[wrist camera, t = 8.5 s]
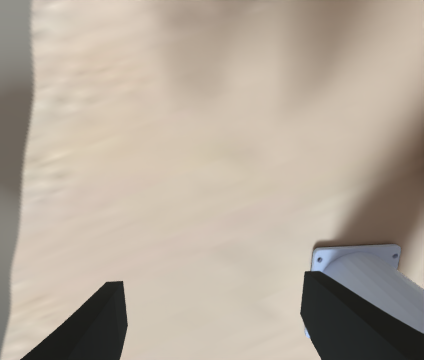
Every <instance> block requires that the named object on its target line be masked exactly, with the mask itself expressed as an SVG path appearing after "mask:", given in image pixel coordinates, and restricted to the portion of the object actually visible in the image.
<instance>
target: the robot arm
mask: <svg viewBox="0 0 424 360" xmlns="http://www.w3.org/2000/svg"><path fill="white" fill-rule="evenodd" d="M400 253H401V248H400V247H399V246H398V245H396V244H385V245H364V246H343V247H322V248H316V249H315V250H314V252H313V259H312V268H311V271H305V275H304V284H303V294H302V303H301V312H300V314H301V317H302V319H303V322H304V324H305V334H306V336H307V337H308V338H310V339H311V341H312V343H313V345H314V347H315V348H316V350H317V352H318V354H319V356H320V358H321V359H322V360H424V289H422V288H421V287H420V286H418V285H417V284H415V283H414V282H413V281H411V280H410V279H409V278H407V277H406V276H405V275H403V274H402V273H401V272H399V271H398V270H397V268H398V263H399V258H400ZM319 257H321V258H320V259H319V260H317V259H318V258H319ZM127 326H128V323H127V314H126V304H125V295H124V286H123V281H116V282H106V283H105V284H104V285H103V286H102V287H101V288H100V289H99V290H98V291H97V292H96V293H94V294H93V295H92V296H91V297H90V298H89V299H88V300H87V301H86V302H85V303H84V304H83V305H82V306H81V307H80V308H79V309H78V310H77V311H76V312H74V313H73V314H72V315H71V316H70V317H69V318H68V319H67V320H66V321H65V322H64V323H63V324H62V325H60V326H59V327H58V328H57V329H56V330H55V331H53V332H52V333H51V334H50V335H49V336H48V337H46V338H45V339H44V340H43V341H42V342H41V343H40V344H38V345H37V346H36V347H35V348H34V349H33V350H31V351H30V352H29V353H28V354H27V355H25V356H24V357H23V358H22V359H20V360H120V357H121V353H122V349H123V345H124V340H125V336H126V331H127Z"/></svg>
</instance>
